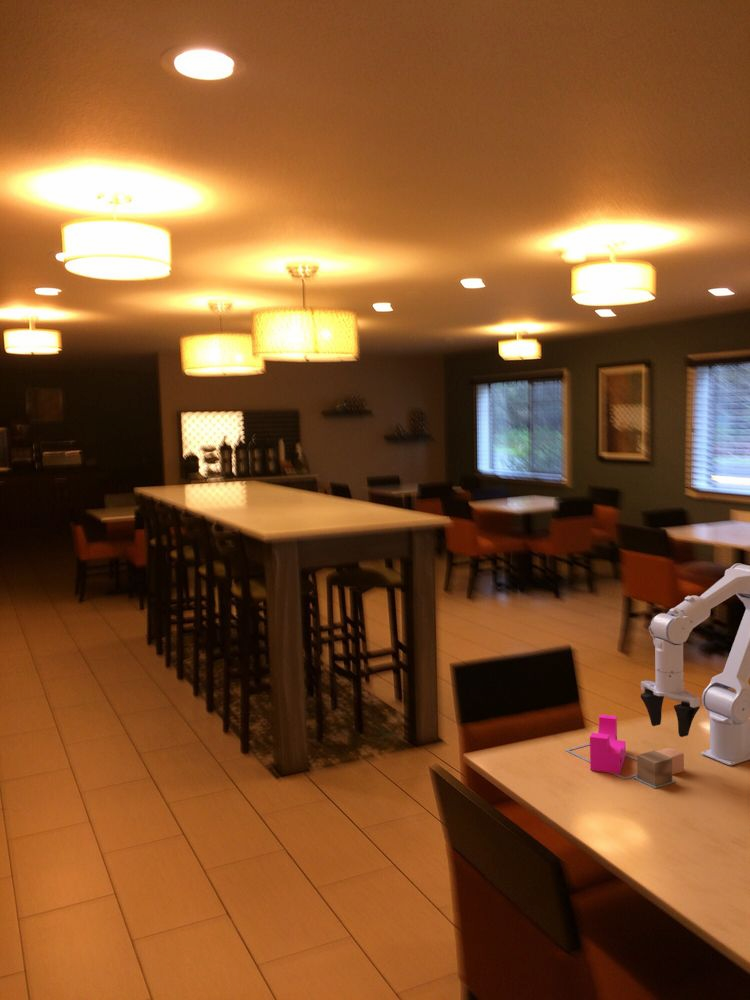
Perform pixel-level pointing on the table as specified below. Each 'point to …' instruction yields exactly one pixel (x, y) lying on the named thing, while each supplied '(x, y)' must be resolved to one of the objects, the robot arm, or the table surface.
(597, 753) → the toy block
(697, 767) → the table surface
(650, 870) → the table surface
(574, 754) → the frame
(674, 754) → the terracotta block
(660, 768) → the walnut cube
